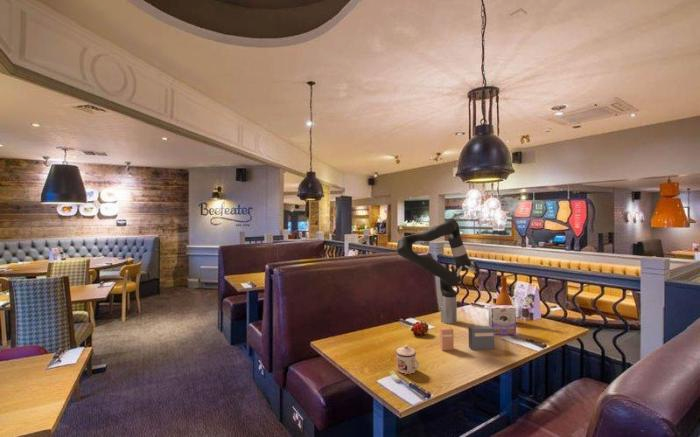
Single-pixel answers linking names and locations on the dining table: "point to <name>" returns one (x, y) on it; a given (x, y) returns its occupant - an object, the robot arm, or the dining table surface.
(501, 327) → the candy box
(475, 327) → the gray block
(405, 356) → the teacup with lid
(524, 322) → the dining table surface
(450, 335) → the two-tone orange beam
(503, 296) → the brown tapered piece
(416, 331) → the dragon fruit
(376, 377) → the dining table surface
